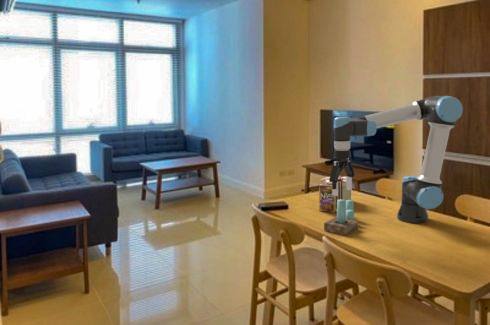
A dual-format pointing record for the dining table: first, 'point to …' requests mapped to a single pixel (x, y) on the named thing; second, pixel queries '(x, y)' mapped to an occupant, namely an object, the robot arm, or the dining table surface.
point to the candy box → (326, 198)
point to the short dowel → (350, 214)
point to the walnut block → (341, 226)
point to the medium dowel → (349, 204)
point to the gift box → (340, 188)
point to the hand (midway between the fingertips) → (342, 192)
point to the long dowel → (341, 211)
